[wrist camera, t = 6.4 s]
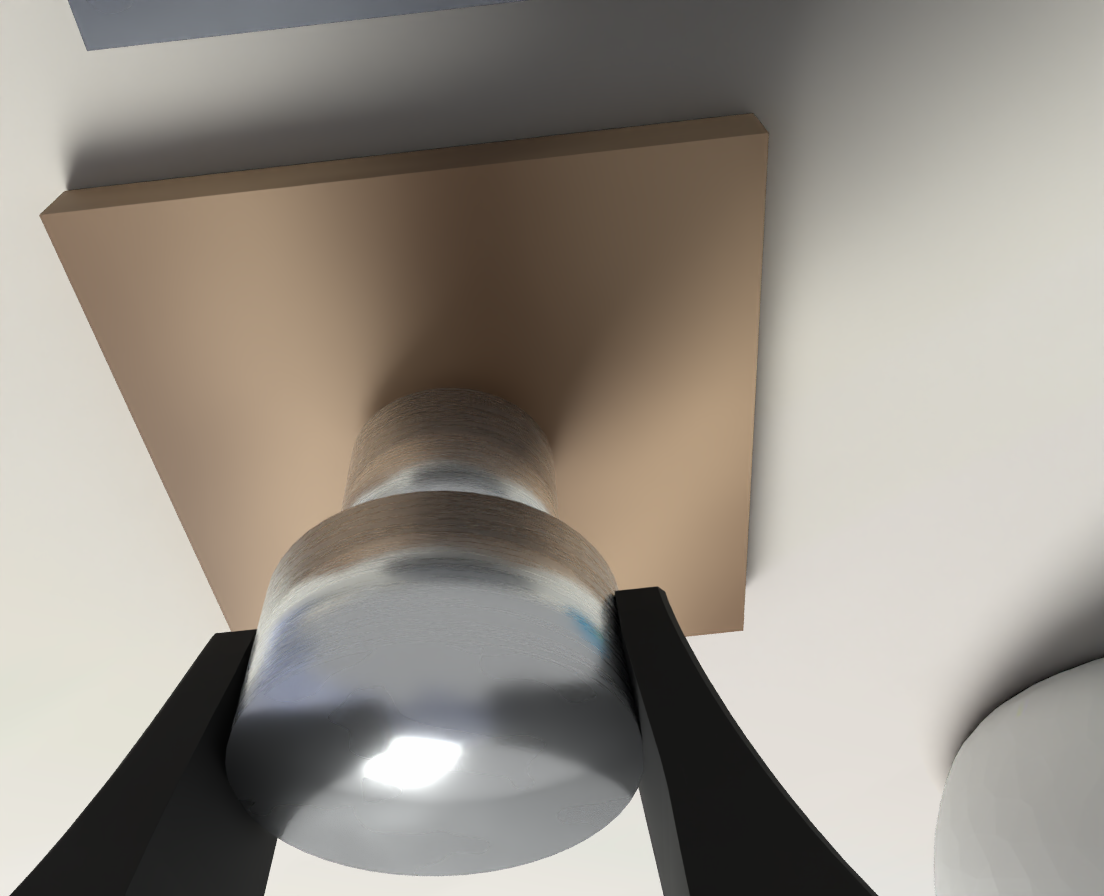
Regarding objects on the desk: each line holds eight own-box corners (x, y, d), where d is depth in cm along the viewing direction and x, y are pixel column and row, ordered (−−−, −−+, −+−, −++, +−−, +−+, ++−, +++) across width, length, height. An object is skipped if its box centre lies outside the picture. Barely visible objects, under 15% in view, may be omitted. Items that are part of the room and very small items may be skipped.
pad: (263, 647, 21) (254, 681, 20) (64, 190, 14) (39, 215, 13) (733, 597, 21) (743, 630, 20) (753, 112, 14) (769, 132, 13)
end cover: (338, 582, 17) (285, 890, 13) (270, 360, 14) (165, 664, 10) (601, 559, 18) (643, 859, 13) (594, 333, 14) (645, 624, 10)
